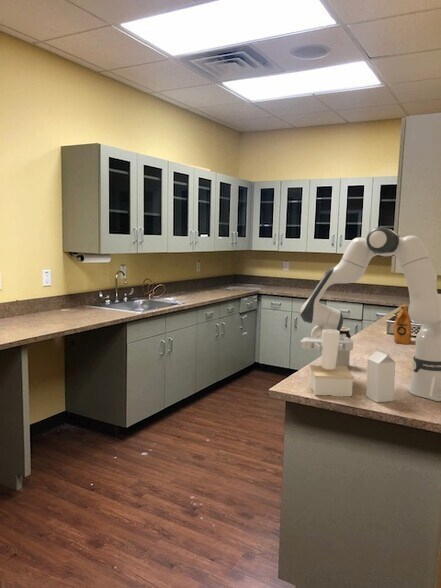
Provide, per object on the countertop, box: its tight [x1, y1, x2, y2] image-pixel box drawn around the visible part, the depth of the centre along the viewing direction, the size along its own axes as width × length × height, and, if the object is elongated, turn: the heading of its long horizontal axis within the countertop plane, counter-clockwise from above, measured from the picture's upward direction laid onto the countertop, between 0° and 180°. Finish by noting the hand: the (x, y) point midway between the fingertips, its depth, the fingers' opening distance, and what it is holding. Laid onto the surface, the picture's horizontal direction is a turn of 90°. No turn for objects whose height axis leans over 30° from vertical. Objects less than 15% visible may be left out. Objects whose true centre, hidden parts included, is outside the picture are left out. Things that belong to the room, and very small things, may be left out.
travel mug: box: [336, 326, 351, 368], centre depth 221 cm, size 8×8×18 cm
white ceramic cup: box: [321, 329, 340, 370], centre depth 183 cm, size 7×7×15 cm
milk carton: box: [365, 347, 396, 404], centre depth 175 cm, size 7×7×19 cm
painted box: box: [309, 364, 355, 397], centre depth 185 cm, size 15×15×8 cm
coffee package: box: [393, 303, 412, 345], centre depth 273 cm, size 10×12×22 cm
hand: (330, 348), depth 182 cm, fingers closed on white ceramic cup, 6 cm apart
